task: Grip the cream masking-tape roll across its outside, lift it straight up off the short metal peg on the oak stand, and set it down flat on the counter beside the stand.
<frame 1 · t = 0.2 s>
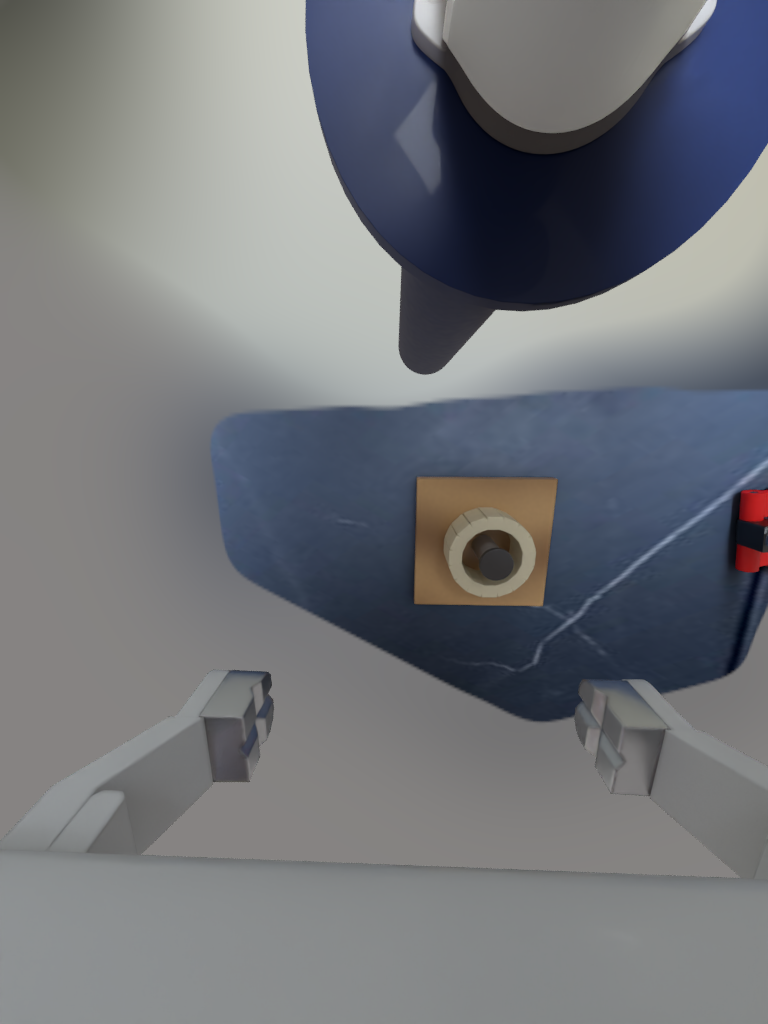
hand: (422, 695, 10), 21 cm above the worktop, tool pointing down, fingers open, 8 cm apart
peg stand: (479, 541, 31), on the worktop
tape roll: (482, 544, 30), point 1 cm above the worktop, touching peg stand
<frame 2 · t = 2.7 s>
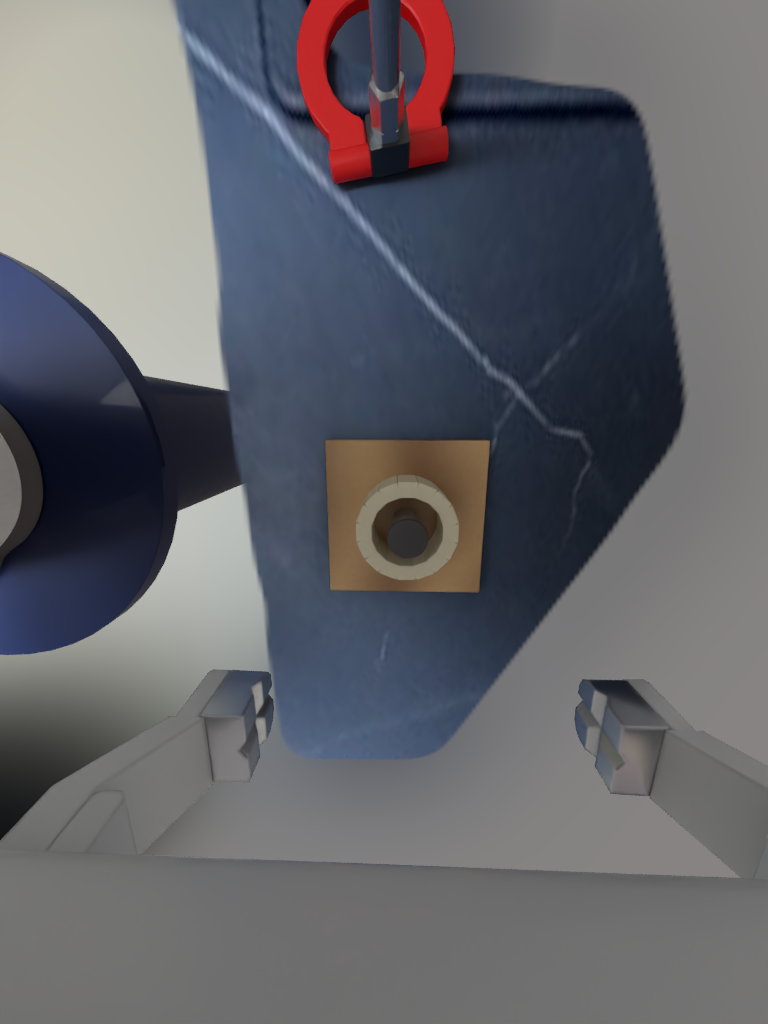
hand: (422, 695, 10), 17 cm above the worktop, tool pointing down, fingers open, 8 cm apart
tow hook: (377, 87, 20), on the worktop
peg stand: (405, 516, 26), on the worktop
tape roll: (405, 520, 25), point 1 cm above the worktop, touching peg stand
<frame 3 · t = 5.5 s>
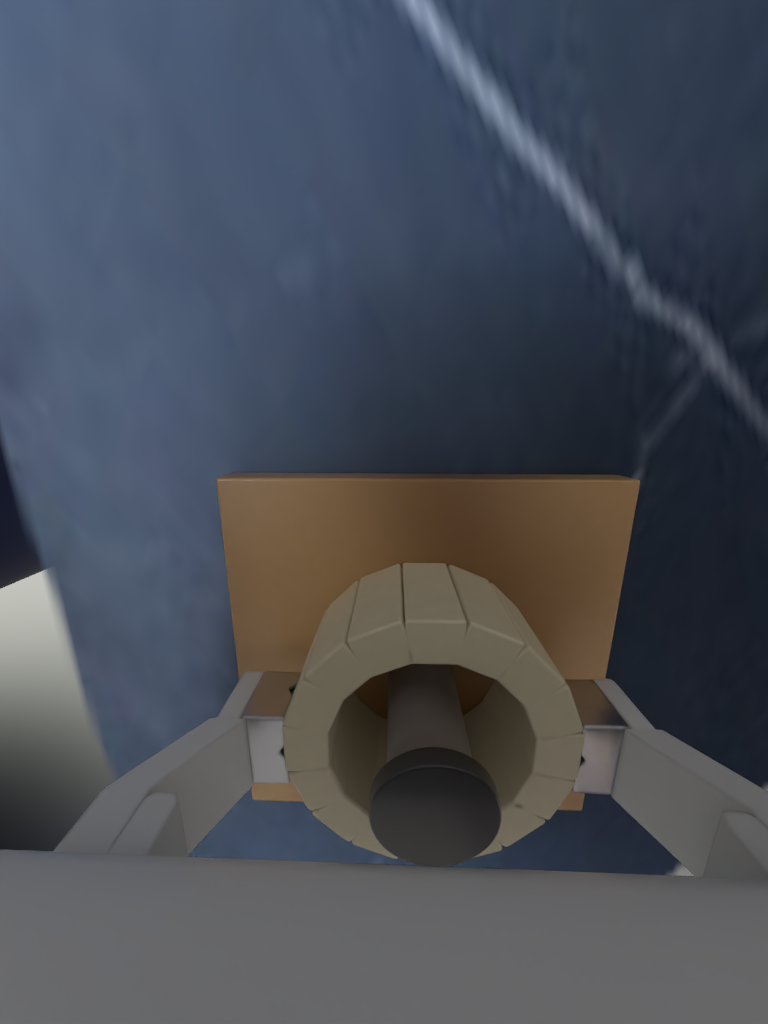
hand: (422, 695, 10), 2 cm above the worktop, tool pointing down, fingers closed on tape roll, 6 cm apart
peg stand: (417, 643, 12), on the worktop
tape roll: (421, 663, 11), point 1 cm above the worktop, touching gripper, peg stand
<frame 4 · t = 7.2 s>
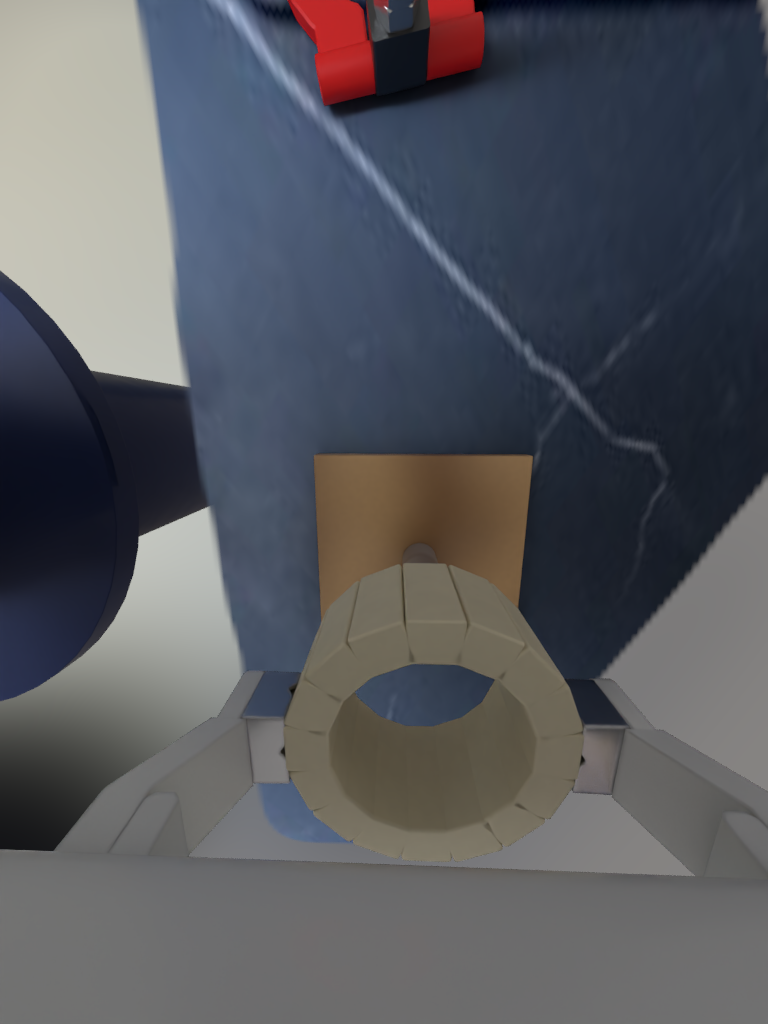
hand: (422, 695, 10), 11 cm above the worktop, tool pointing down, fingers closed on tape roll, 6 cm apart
peg stand: (418, 552, 20), on the worktop
tape roll: (421, 663, 11), point 10 cm above the worktop, touching gripper
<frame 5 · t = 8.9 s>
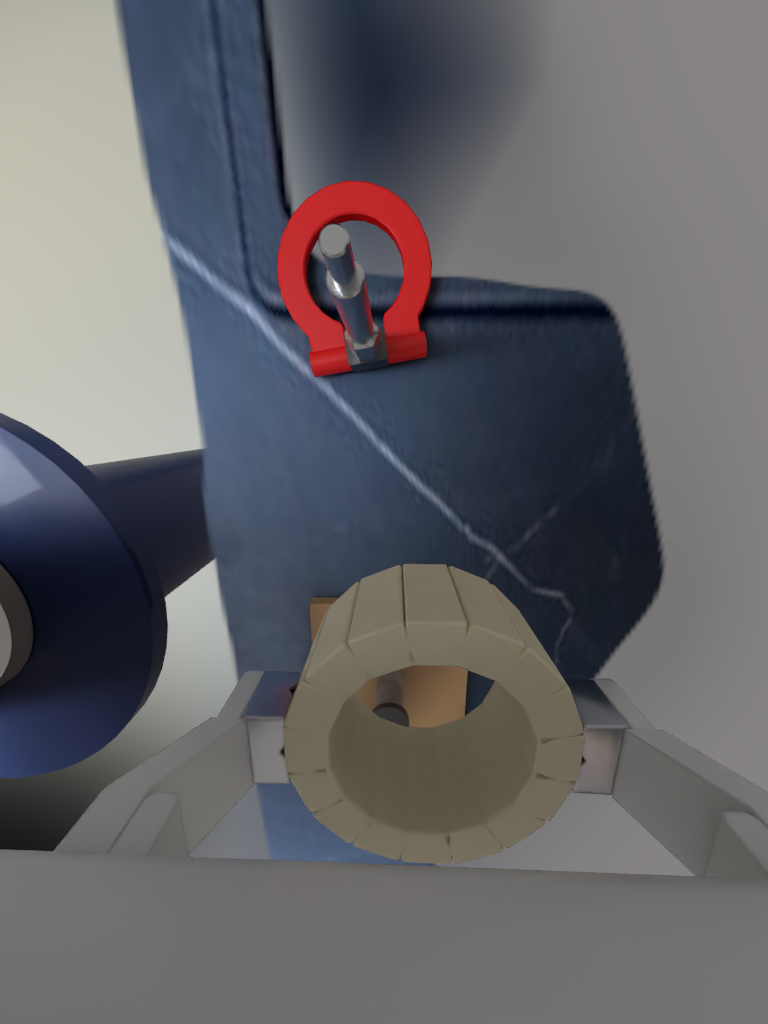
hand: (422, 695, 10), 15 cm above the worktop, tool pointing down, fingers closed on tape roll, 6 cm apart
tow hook: (357, 287, 21), on the worktop
peg stand: (390, 665, 27), on the worktop
tape roll: (421, 664, 11), point 14 cm above the worktop, touching gripper
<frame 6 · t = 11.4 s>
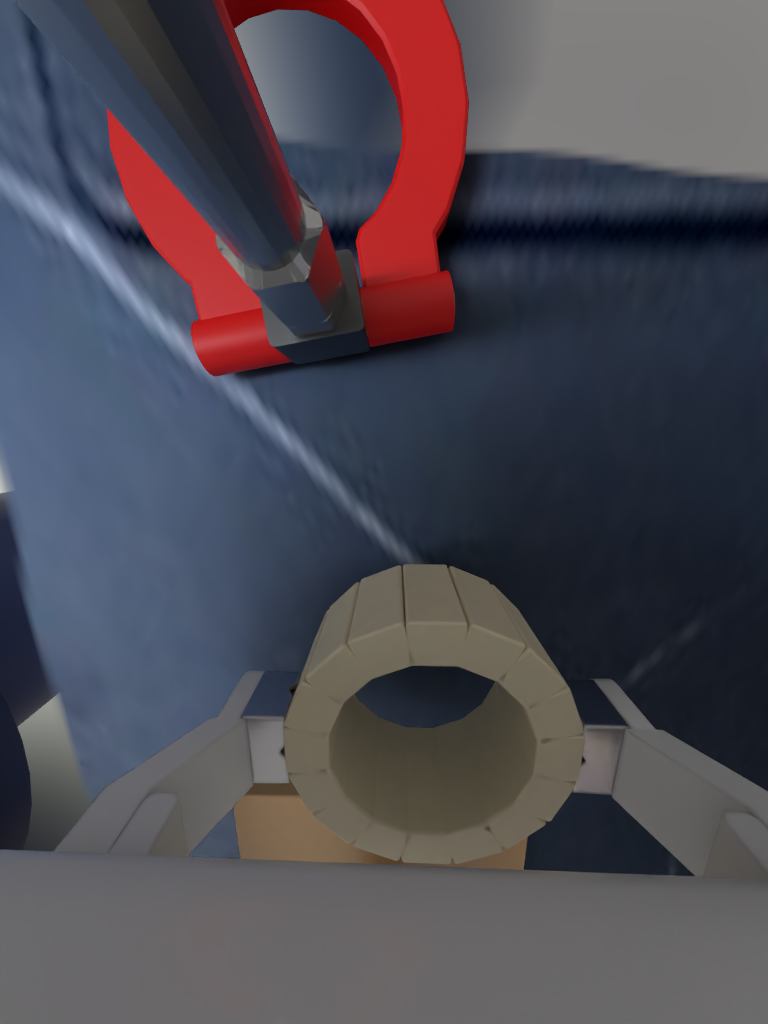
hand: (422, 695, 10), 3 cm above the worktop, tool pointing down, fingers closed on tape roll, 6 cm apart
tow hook: (300, 179, 10), on the worktop
peg stand: (381, 874, 15), on the worktop
tape roll: (421, 664, 11), point 2 cm above the worktop, touching gripper
when the fingers open (1 cm above the worktop, at t = 12.6 s): tape roll stays where it is, on the worktop.
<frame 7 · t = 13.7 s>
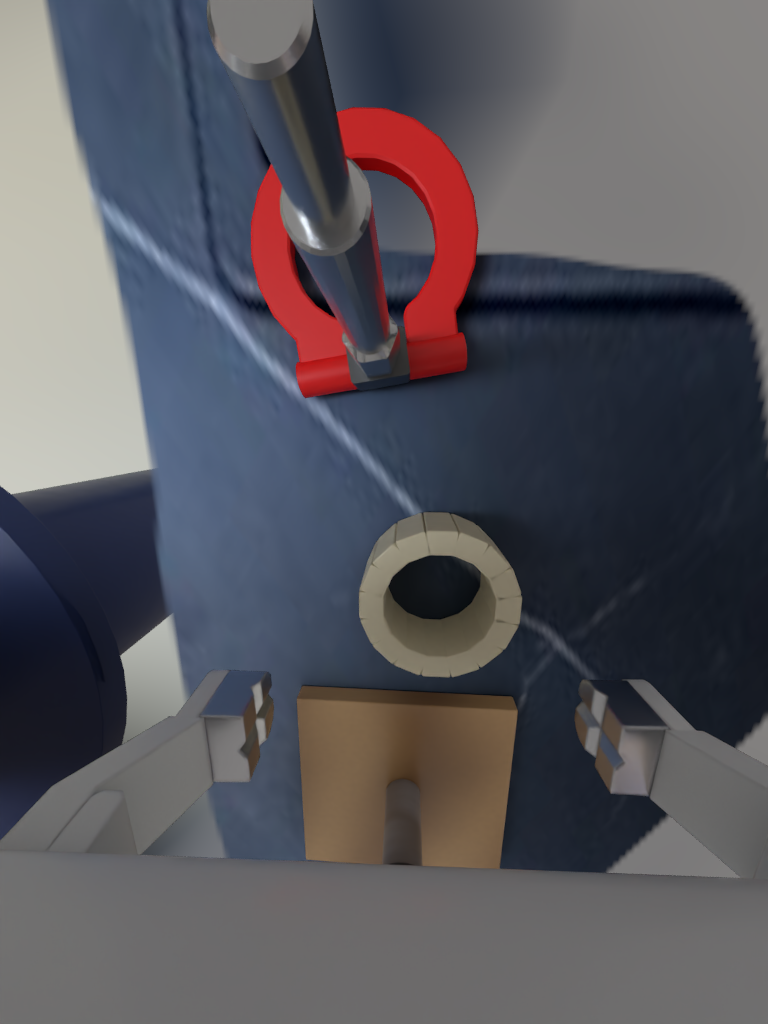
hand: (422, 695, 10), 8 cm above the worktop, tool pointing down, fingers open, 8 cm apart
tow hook: (366, 269, 14), on the worktop
peg stand: (403, 774, 20), on the worktop
tape roll: (433, 577, 17), on the worktop
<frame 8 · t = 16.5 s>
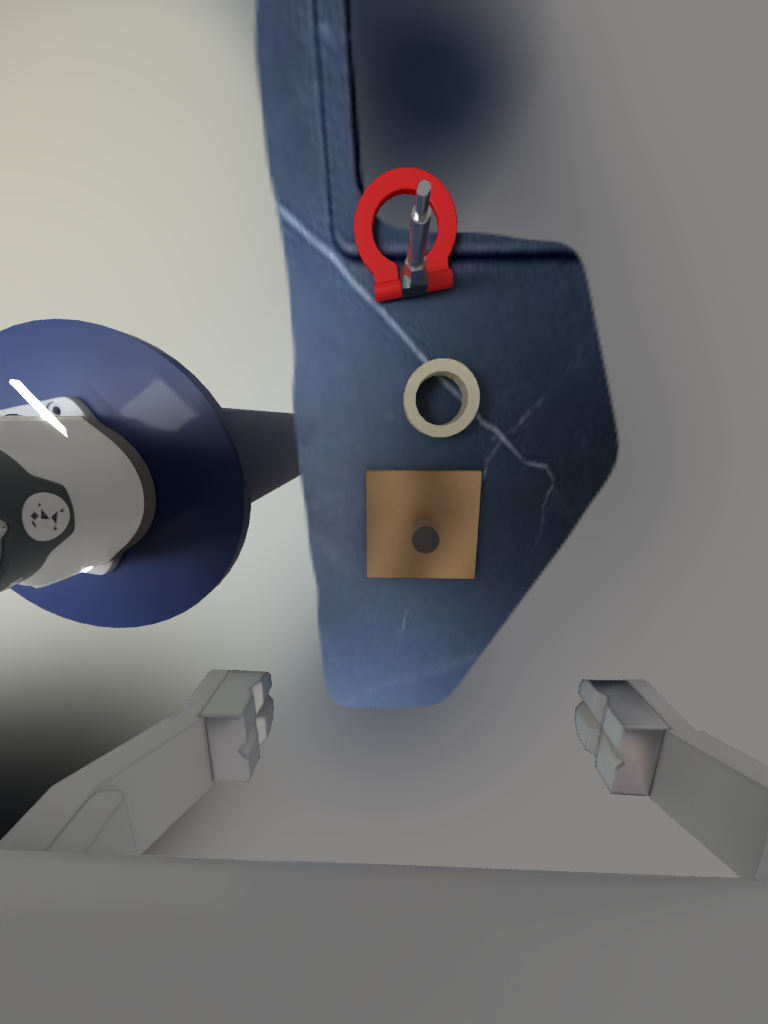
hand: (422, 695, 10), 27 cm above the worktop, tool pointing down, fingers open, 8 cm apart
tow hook: (405, 240, 31), on the worktop
peg stand: (421, 523, 36), on the worktop
tape roll: (437, 400, 34), on the worktop
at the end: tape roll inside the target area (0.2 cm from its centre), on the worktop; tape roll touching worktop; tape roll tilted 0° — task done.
